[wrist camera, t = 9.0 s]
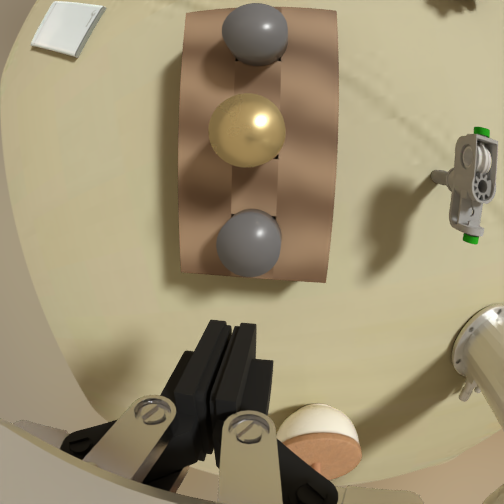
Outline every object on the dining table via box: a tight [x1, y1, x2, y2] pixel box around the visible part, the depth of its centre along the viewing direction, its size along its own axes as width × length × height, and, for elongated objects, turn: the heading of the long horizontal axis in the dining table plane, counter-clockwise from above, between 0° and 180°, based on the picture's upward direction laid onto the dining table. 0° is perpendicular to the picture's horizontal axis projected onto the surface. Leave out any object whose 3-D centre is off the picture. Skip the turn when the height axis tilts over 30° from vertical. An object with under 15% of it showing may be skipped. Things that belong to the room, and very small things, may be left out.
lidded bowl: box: [276, 404, 362, 480], centre depth 36 cm, size 13×13×11 cm
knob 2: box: [216, 209, 282, 277], centre depth 28 cm, size 5×5×8 cm
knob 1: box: [222, 3, 288, 66], centre depth 22 cm, size 5×5×8 cm
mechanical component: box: [431, 127, 498, 244], centre depth 24 cm, size 3×10×10 cm, turn 178°
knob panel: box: [178, 7, 339, 283], centre depth 27 cm, size 26×14×6 cm, turn 178°
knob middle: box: [208, 93, 286, 168], centre depth 23 cm, size 5×5×8 cm
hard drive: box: [31, 1, 106, 58], centre depth 27 cm, size 2×8×12 cm
